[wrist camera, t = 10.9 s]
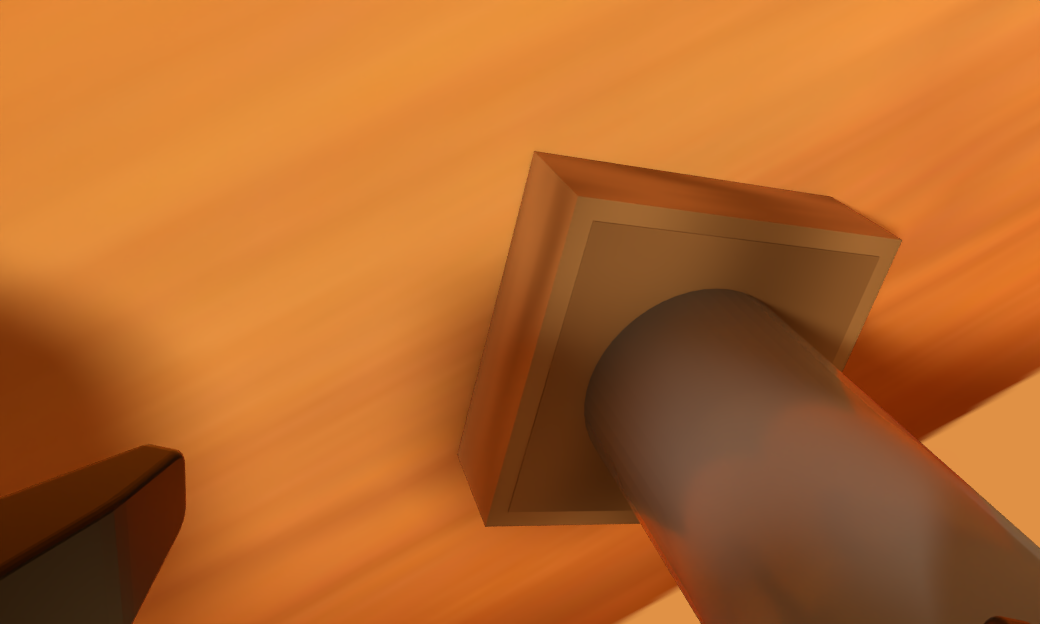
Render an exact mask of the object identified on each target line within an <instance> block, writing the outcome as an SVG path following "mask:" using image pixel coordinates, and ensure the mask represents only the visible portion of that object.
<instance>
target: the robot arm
mask: <svg viewBox="0 0 1040 624" xmlns="http://www.w3.org/2000/svg"><path fill="white" fill-rule="evenodd" d="M185 510H186V486H185V460H184V456H183V454H182V453H181V452H180V451H178V450H175V449H170V448H165V447H160V446H156V445H143V446H140V447H137V448H134V449H132V450H129V451H126V452H124V453H121V454H118V455H115V456H113V457H110V458H107V459H105V460H102V461H99V462H96V463H94V464H91V465H88V466H86V467H83V468H80V469H78V470H75V471H72V472H69V473H67V474H64V475H61V476H59V477H56V478H53V479H51V480H48V481H45V482H42V483H40V484H37V485H34V486H32V487H29V488H26V489H23V490H21V491H18V492H15V493H13V494H10V495H7V496H5V497H2V498H0V624H132V623H133V621H134V619H135V617H136V615H137V613H138V611H139V609H140V607H141V605H142V603H143V601H144V600H145V598H146V596H147V594H148V592H149V590H150V588H151V586H152V584H153V582H154V580H155V578H156V576H157V574H158V572H159V570H160V568H161V566H162V564H163V562H164V560H165V558H166V556H167V555H168V553H169V551H170V549H171V547H172V545H173V543H174V541H175V539H176V537H177V535H178V533H179V531H180V529H181V526H182V523H183V520H184V516H185ZM984 624H1031V623H1029V622H1027V621H1022V620H1017V619H1012V618H1007V617H1003V616H993V617H991V618H989V619H987V620H986V621H985V623H984Z"/></svg>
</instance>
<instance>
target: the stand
mask: <svg viewBox="0 0 1040 624" xmlns="http://www.w3.org/2000/svg"><path fill="white" fill-rule="evenodd" d="M901 242H902V240H901V239H900V238H898V237H896V236H895V235H893V234H891V233H890V232H888V231H886V230H885V229H883V228H881V227H880V226H878V225H877V224H875V223H873V222H872V221H870V220H868V219H867V218H865V217H863V216H862V215H860V214H858V213H857V212H855V211H853V210H852V209H850V208H849V207H847V206H845V205H844V204H842V203H840V202H839V201H837V200H835V199H834V198H832V197H828V196H822V195H815V194H809V193H802V192H796V191H789V190H783V189H776V188H770V187H763V186H757V185H750V184H744V183H737V182H731V181H724V180H718V179H711V178H705V177H698V176H692V175H685V174H679V173H672V172H666V171H659V170H653V169H646V168H640V167H633V166H627V165H620V164H614V163H607V162H601V161H594V160H588V159H581V158H575V157H568V156H562V155H555V154H549V153H542V152H536V151H534V154H533V158H532V162H531V166H530V170H529V174H528V178H527V182H526V186H525V190H524V194H523V198H522V202H521V206H520V209H519V213H518V217H517V221H516V225H515V229H514V233H513V237H512V241H511V245H510V249H509V253H508V257H507V261H506V265H505V269H504V273H503V277H502V281H501V285H500V289H499V293H498V297H497V300H496V304H495V308H494V312H493V316H492V320H491V324H490V328H489V332H488V336H487V340H486V344H485V348H484V352H483V356H482V360H481V364H480V368H479V372H478V376H477V380H476V384H475V388H474V391H473V395H472V399H471V403H470V407H469V411H468V415H467V419H466V423H465V427H464V431H463V435H462V439H461V443H460V447H459V451H458V458H459V460H460V463H461V466H462V468H463V471H464V473H465V476H466V478H467V481H468V484H469V486H470V489H471V491H472V494H473V496H474V499H475V502H476V504H477V507H478V509H479V512H480V514H481V517H482V520H483V522H484V525H485V527H490V526H541V525H593V524H640V522H639V520H638V519H637V517H636V515H635V514H634V512H633V510H632V509H631V507H630V505H629V504H628V502H627V500H626V499H625V497H624V496H623V494H622V492H621V491H620V489H619V487H618V486H617V484H616V482H615V481H614V479H613V477H612V476H611V474H610V472H609V471H608V469H607V467H606V466H605V464H604V462H603V461H602V459H601V458H600V456H599V454H598V453H597V451H596V449H595V448H594V446H593V444H592V442H591V440H590V438H589V435H588V432H587V429H586V424H585V417H584V403H585V397H586V391H587V388H588V384H589V381H590V378H591V376H592V374H593V371H594V369H595V367H596V365H597V363H598V361H599V360H600V358H601V356H602V355H603V353H604V352H605V350H606V349H607V348H608V346H609V345H610V344H611V342H612V341H613V340H614V339H615V338H616V337H617V336H618V335H619V333H620V332H621V331H622V330H623V329H624V328H625V327H627V326H628V325H629V324H630V323H631V322H632V321H633V320H635V319H636V318H637V317H639V316H640V315H642V314H643V313H644V312H646V311H647V310H649V309H651V308H652V307H654V306H656V305H658V304H660V303H661V302H663V301H666V300H668V299H671V298H673V297H675V296H678V295H681V294H685V293H688V292H692V291H698V290H703V289H728V290H734V291H738V292H743V293H745V294H748V295H750V296H753V297H755V298H756V299H758V300H759V301H761V302H763V303H764V304H765V305H766V306H767V307H768V308H770V309H771V310H772V311H773V312H774V313H775V314H776V315H777V316H779V317H780V318H781V319H782V320H783V321H784V322H785V323H786V324H788V325H789V326H790V327H791V328H792V329H793V330H794V331H796V332H797V333H798V334H799V335H800V336H801V337H802V338H803V339H805V340H806V341H807V342H808V343H809V344H810V345H811V346H812V347H814V348H815V349H816V350H817V351H818V352H819V353H820V354H821V355H823V356H824V357H825V358H826V359H827V360H828V361H829V362H830V363H832V364H833V365H834V366H835V367H836V368H837V369H838V370H839V371H841V372H842V371H843V369H844V367H845V365H846V363H847V360H848V358H849V356H850V354H851V352H852V349H853V347H854V345H855V343H856V341H857V338H858V336H859V334H860V332H861V330H862V327H863V325H864V323H865V321H866V319H867V317H868V314H869V312H870V310H871V308H872V306H873V303H874V301H875V299H876V297H877V295H878V292H879V290H880V288H881V286H882V284H883V281H884V279H885V277H886V275H887V273H888V270H889V268H890V266H891V264H892V262H893V259H894V257H895V255H896V253H897V251H898V248H899V246H900V244H901Z"/></svg>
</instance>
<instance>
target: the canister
mask: <svg viewBox="0 0 1040 624" xmlns="http://www.w3.org/2000/svg"><path fill="white" fill-rule="evenodd" d="M584 417H585V424H586V429H587V432H588V435H589V438H590V440H591V442H592V444H593V446H594V448H595V449H596V451H597V453H598V454H599V456H600V458H601V459H602V461H603V462H604V464H605V466H606V467H607V469H608V471H609V472H610V474H611V476H612V477H613V479H614V481H615V482H616V484H617V486H618V487H619V489H620V491H621V492H622V494H623V496H624V497H625V499H626V500H627V502H628V504H629V505H630V507H631V509H632V510H633V512H634V514H635V515H636V517H637V519H638V520H639V522H640V524H641V525H642V527H643V529H644V530H645V532H646V533H647V535H648V537H649V538H650V540H651V542H652V543H653V545H654V547H655V548H656V550H657V552H658V553H659V555H660V557H661V558H662V560H663V562H664V563H665V565H666V567H667V568H668V570H669V571H670V573H671V575H672V576H673V578H674V580H675V581H676V583H677V585H678V586H679V588H680V590H681V591H682V593H683V595H684V596H685V598H686V600H687V601H688V603H689V605H690V606H691V608H692V609H693V611H694V613H695V614H696V616H697V618H698V619H699V621H700V623H701V624H984V623H985V621H986V620H987V619H989V618H991V617H993V616H1003V617H1007V618H1012V619H1017V620H1022V621H1027V622H1029V623H1031V624H1040V548H1039V547H1038V546H1037V545H1036V544H1034V543H1033V542H1032V541H1031V540H1030V539H1029V538H1028V537H1027V536H1026V535H1024V534H1023V533H1022V532H1021V531H1020V530H1019V529H1018V528H1016V527H1015V526H1014V525H1013V524H1012V523H1011V522H1010V521H1009V520H1008V519H1006V518H1005V517H1004V516H1003V515H1002V514H1001V513H1000V512H999V511H997V510H996V509H995V508H994V507H993V506H992V505H991V504H989V503H988V502H987V501H986V500H985V499H984V498H983V497H981V496H980V495H979V494H978V493H977V492H976V491H975V490H974V489H973V488H971V487H970V486H969V485H968V484H967V483H966V482H965V481H964V480H962V479H961V478H960V477H959V476H958V475H957V474H956V473H955V472H953V471H952V470H951V469H950V468H949V467H948V466H947V465H946V464H944V463H943V462H942V461H941V460H940V459H938V457H937V456H935V455H934V454H933V453H932V452H931V451H930V450H929V449H927V448H926V447H925V446H924V445H923V444H922V443H921V442H920V441H918V440H917V439H916V438H915V437H914V436H913V435H912V434H911V433H909V432H908V431H907V430H906V429H905V428H904V427H903V426H902V425H900V424H899V423H898V422H897V421H896V420H895V419H894V418H893V417H891V416H890V415H889V414H888V413H887V412H886V411H885V410H883V409H882V408H881V407H880V406H879V405H878V404H877V403H876V402H874V401H873V400H872V399H871V398H870V397H869V396H868V395H867V394H865V393H864V392H863V391H862V390H861V389H860V388H859V387H858V386H856V385H855V384H854V383H853V382H852V381H851V380H850V379H849V378H847V377H846V376H845V375H844V374H843V373H842V372H841V371H839V370H838V369H837V368H836V367H835V366H834V365H833V364H832V363H830V362H829V361H828V360H827V359H826V358H825V357H824V356H823V355H821V354H820V353H819V352H818V351H817V350H816V349H815V348H814V347H812V346H811V345H810V344H809V343H808V342H807V341H806V340H805V339H803V338H802V337H801V336H800V335H799V334H798V333H797V332H796V331H794V330H793V329H792V328H791V327H790V326H789V325H788V324H786V323H785V322H784V321H783V320H782V319H781V318H780V317H779V316H777V315H776V314H775V313H774V312H773V311H772V310H771V309H770V308H768V307H767V306H766V305H765V304H764V303H763V302H761V301H759V300H758V299H756V298H755V297H753V296H750V295H748V294H745V293H743V292H738V291H734V290H728V289H703V290H698V291H692V292H688V293H685V294H681V295H678V296H675V297H673V298H671V299H668V300H666V301H663V302H661V303H660V304H658V305H656V306H654V307H652V308H651V309H649V310H647V311H646V312H644V313H643V314H642V315H640V316H639V317H637V318H636V319H635V320H633V321H632V322H631V323H630V324H629V325H628V326H627V327H625V328H624V329H623V330H622V331H621V332H620V333H619V335H618V336H617V337H616V338H615V339H614V340H613V341H612V342H611V344H610V345H609V346H608V348H607V349H606V350H605V352H604V353H603V355H602V356H601V358H600V360H599V361H598V363H597V365H596V367H595V369H594V371H593V374H592V376H591V378H590V381H589V384H588V388H587V391H586V397H585V403H584Z"/></svg>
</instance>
